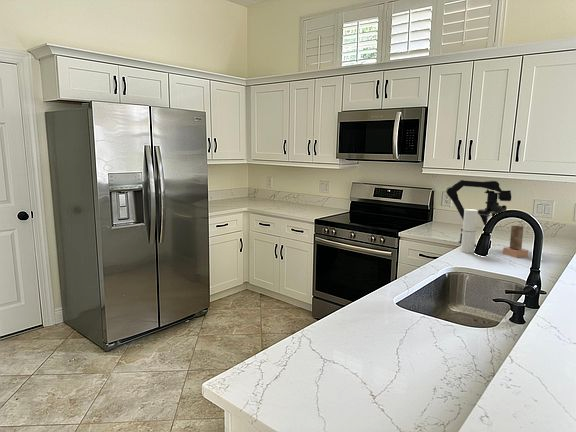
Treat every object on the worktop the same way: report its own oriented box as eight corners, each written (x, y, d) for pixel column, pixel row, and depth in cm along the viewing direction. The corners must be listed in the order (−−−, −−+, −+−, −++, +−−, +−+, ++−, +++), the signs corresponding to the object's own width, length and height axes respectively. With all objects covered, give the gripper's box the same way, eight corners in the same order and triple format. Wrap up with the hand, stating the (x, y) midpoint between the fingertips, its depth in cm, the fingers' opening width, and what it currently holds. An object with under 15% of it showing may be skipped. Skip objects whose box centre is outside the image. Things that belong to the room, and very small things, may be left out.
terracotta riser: (502, 254, 237) (503, 247, 236) (514, 253, 240) (515, 246, 239) (515, 258, 228) (516, 251, 228) (527, 257, 231) (528, 250, 231)
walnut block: (509, 248, 233) (511, 225, 233) (513, 247, 236) (515, 225, 235) (517, 249, 230) (519, 226, 229) (521, 248, 232) (523, 226, 232)
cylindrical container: (460, 251, 239) (463, 210, 235) (461, 249, 245) (464, 208, 241) (473, 253, 235) (477, 211, 232) (474, 251, 242) (478, 209, 238)
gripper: (494, 202, 245) (492, 227, 247) (513, 201, 254) (510, 225, 256) (478, 200, 255) (476, 225, 257) (496, 199, 264) (494, 223, 266)
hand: (489, 224), depth 259 cm, fingers open, 9 cm apart
